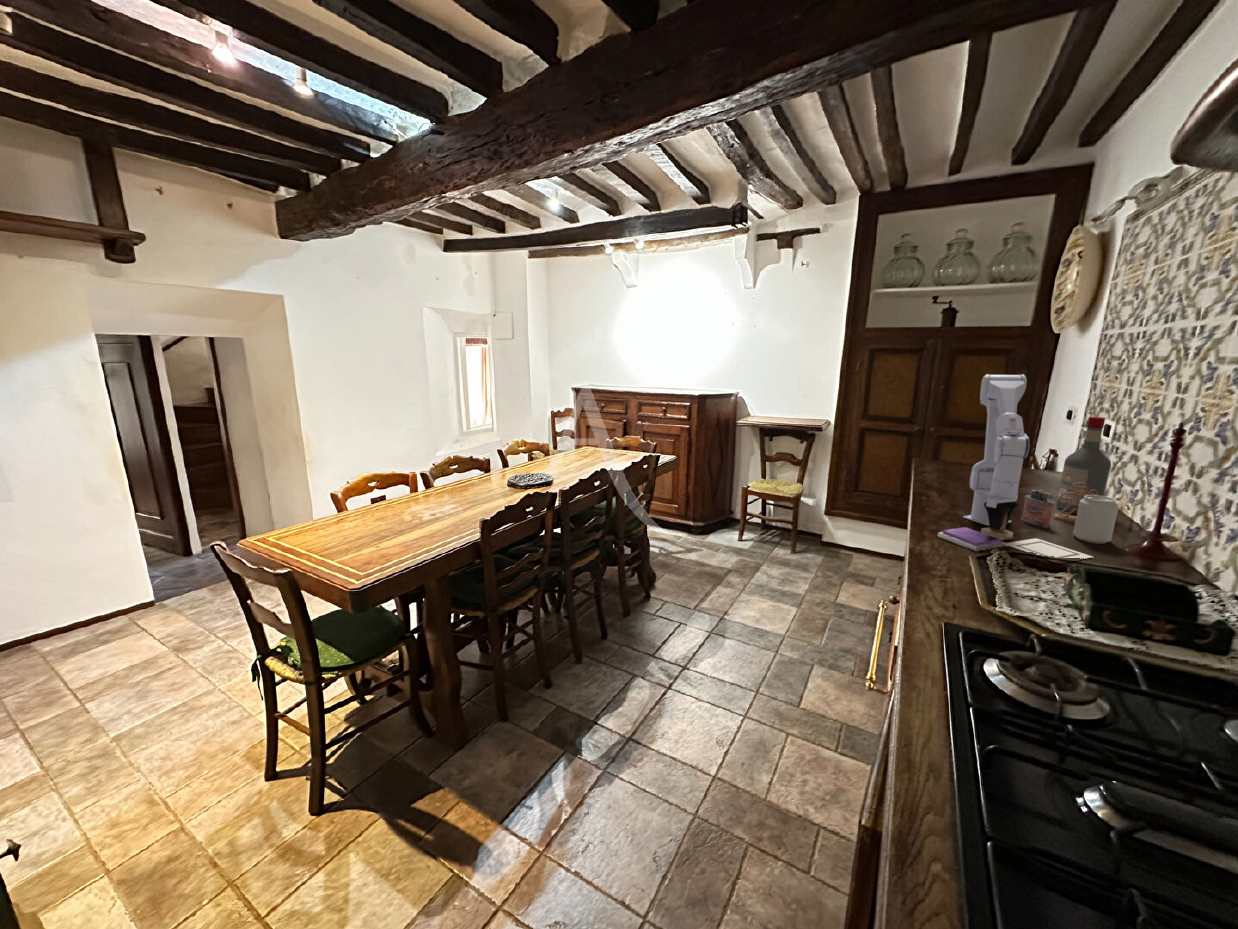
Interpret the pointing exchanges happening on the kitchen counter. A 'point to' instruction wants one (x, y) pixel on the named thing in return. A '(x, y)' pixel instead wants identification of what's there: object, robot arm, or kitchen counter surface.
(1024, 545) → the marked card
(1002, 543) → the ink pad
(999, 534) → the stamp
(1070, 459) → the liquor
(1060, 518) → the gingerbread man figurine
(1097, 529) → the can
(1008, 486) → the robot arm
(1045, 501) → the lighter
